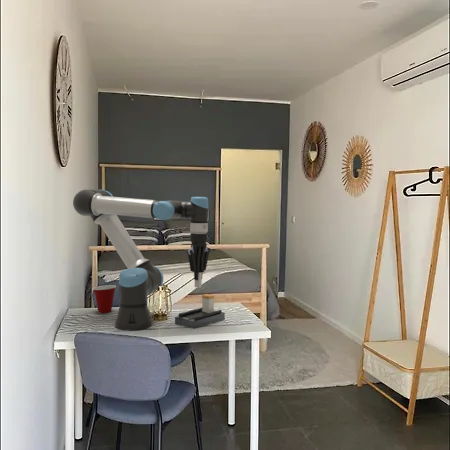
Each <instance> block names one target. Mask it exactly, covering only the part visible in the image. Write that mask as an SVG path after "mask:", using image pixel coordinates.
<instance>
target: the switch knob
mask: <svg viewBox="0 0 450 450" xmlns="http://www.w3.org/2000/svg"><path fill="white" fill-rule="evenodd" d="M201 298H202V303H201V308H202V312H206V313H211V312H214V310H215V308H214V306H215V305H214V304H215V302H214V301H215V295H213V294H208V293H205V294H202V295H201Z"/></svg>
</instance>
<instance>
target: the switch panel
mask: <svg viewBox="0 0 450 450" xmlns="http://www.w3.org/2000/svg"><path fill="white" fill-rule="evenodd" d="M225 315H226V312H223V311H222V310H221V309H219V310H215V309H214V312H211V313H206V312H202V307H198V308H195V309H191V310H188V311H183V312H180V313H178V314H177V316H174V325H178V326H180V327H181V326H182V327H184V328H190V329H197V328H201V327H203V326H207V325H210V324H214V323H217V322H220V321H224V320H225Z"/></svg>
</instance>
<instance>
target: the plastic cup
mask: <svg viewBox="0 0 450 450" xmlns="http://www.w3.org/2000/svg"><path fill="white" fill-rule="evenodd" d="M116 287H117V285H116V284H115V285H113V284H112V285H111V284H110V285H99V286H94V287H92V290H93V292H94V295H95V302H96V306H97V310H98V313H99V312H100V314H107V313H111V312H112V309H113V305H114V304H113V303H114V297H115V296H114V295H115V292H116Z"/></svg>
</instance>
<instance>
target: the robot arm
mask: <svg viewBox="0 0 450 450" xmlns="http://www.w3.org/2000/svg"><path fill="white" fill-rule="evenodd" d="M72 199H73V201H72V206H73V209H74V210H75V212H76V213H77V214H78V215H81V216H84V217H90V219H92V221H93V223H94V224H96V225H100V227H101V229H102V231H103V232H104V233H105V235H106V237H107V238H108V240H109V242H110V243H111V245H112V246H113V248H114V249H115V250H116V251H115V252H116V253H117V254H118V255H119V257H120V259H121V260H122V262H123V264H124V265H125V267H126V268H125V269H124V270H122V271H121V272H120V273H119V277H118V301H119V302H118V303H119V305H118V307H119V308H118V311H117V314H116V317H115V320H114V327H115V328H117V329H119V330H126V331H135V330H143V329H147V328H149V327H151V326H152V325H153V324H152V321H153V320H152V317H151V313H150V310H149V307H148V296H149V295H152V294H155V293H156V292H157V291H156V290H157V289H158V288H159V286H161V287H163V285H164V284H163V283H164V275H163V272H162V271H161V269H160V268H159V267H157V266H154V265H153V263H152V262H151V260H150V259H148V258H145V257H144V256H143V254H142V252H141V251H140V250H139V248H138V246H137V245H136V243H135V241H134V240H133V238H132V237H131V236H130V234H129V233H128V230H127V229H126V227H125V226H124V225H123V223H122V221H121V220H120V217H119V216H125V217H133V218H135V217H136V218H144V219H145V218H146V219H157V220H160V221H168V220H173V219H189V220H190V225H189V226H190V229H189V230H190V234H189V235H190V236H189V241H190V242H191V244H190V248H189V249H186V253H187V256H188V262H189V263H188V264H189V269H190V272H191V273H193V280H194V288H196V289H201V288H202V284H203V282H202V279H203V273H205V271H206V270H207V267H208V261H209V254H210V252H211V247H208V246H207V242H208V240H209V239H208V237H209V236H208V235H209V234H208V231H209V227H208V226H209V209H210V208H209V198H208V197H207V196H191V197H190V200H173V199H172V200H155V199H144V198H132V197H131V198H130V197H121V196H120V197H119V196H113V194H112V193H111V192H110V191H107V190H104V189H83V190H80V191H78V192H77V193H76V194H75V195H74V197H73V198H72ZM155 291H156V292H155ZM154 292H155V293H154Z"/></svg>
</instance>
